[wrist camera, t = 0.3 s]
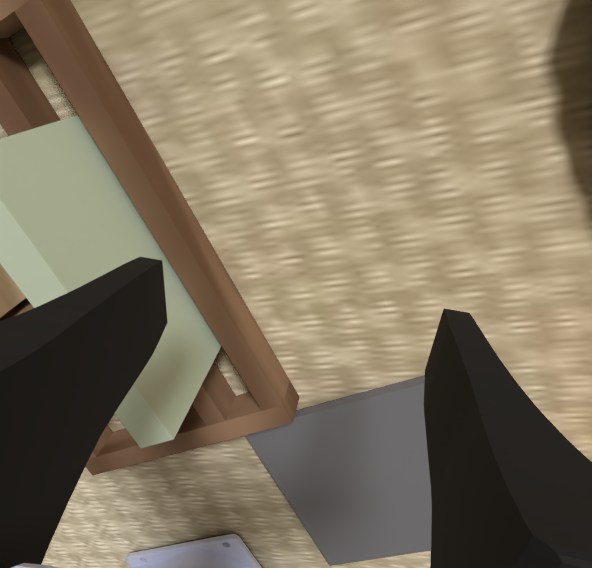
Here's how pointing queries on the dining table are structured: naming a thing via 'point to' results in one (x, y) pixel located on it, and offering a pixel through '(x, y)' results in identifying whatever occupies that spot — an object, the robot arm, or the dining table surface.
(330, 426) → the mat
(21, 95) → the rack
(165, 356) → the pale green rectangular block
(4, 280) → the offcut
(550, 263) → the dining table surface
